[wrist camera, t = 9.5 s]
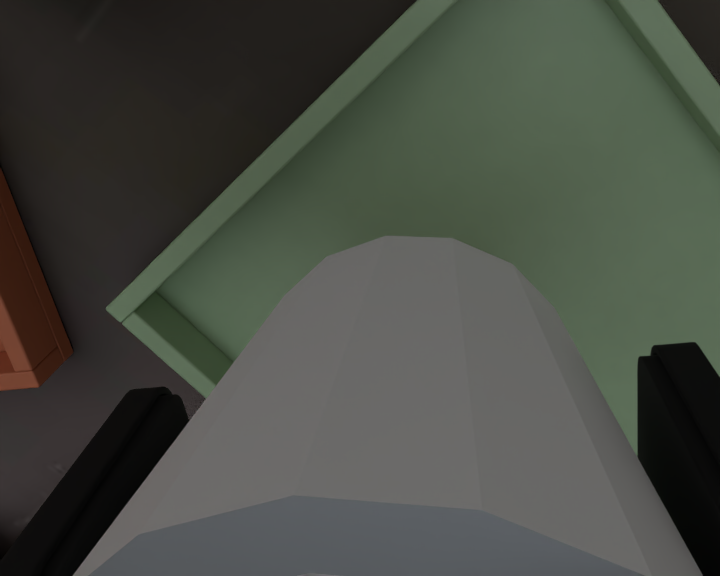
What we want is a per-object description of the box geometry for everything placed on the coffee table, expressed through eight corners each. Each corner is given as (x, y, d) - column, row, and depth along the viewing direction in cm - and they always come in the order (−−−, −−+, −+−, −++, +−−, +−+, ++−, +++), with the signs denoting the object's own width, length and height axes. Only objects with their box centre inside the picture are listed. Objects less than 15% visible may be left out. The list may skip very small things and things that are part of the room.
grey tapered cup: (158, 318, 12) (-136, 674, 6) (485, 115, 10) (547, 349, 4) (363, 561, 15) (301, 1015, 8) (674, 436, 12) (914, 927, 6)
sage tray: (135, 278, 21) (103, 309, 19) (543, -125, 15) (557, -139, 13) (678, 772, 28) (695, 831, 26) (1095, 623, 22) (1156, 685, 20)
